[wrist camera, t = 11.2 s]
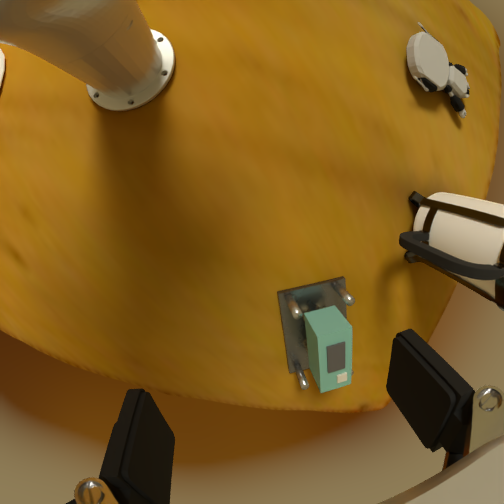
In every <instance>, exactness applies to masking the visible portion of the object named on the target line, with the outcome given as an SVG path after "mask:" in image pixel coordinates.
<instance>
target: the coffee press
mask: <svg viewBox="0 0 504 504" xmlns="http://www.w3.org/2000/svg"><path fill="white" fill-rule="evenodd" d="M409 200H410V201H411V202H412V203H413V204H414V205H416V206H417V207H418V208H419V210H418V212H417V214H416V217H415V221H414V226H413V231H411V232H404V233H401V234H400V238H399V244H400V246H402V247H403V248H405V249H406V250H408V252H406V253H405V255H404V257H405V258H406V260H407V261H408V263H415V262H423V263H425V264H427V265H429V266H430V267H432V268H434V269H436V270H438V271H440V272H441V273H443V274H445V275H447V276H449V277H450V278H452V279H454V280H456V281H457V282H459V283H461V284H463V285H464V286H466V287H468V288H469V289H471V290H473V291H475V292H476V293H478V294H480V295H481V296H483V297H485V298H486V299H488V300H490V301H492V302H493V303H495V304H496V305H497V306H498V307H499V308H500V309H501V310H503V311H504V205H502V204H499V203H494V202H490V201H486V200H481V199H477V198H472V197H467V196H462V195H457V194H451V193H445V192H439V193H435V194H433V195H431V196H430V197H428V198H425V197H423V196H422V195H420V194H419V193H417V192H416V191H413V193H412V194H411V195H410V196H409ZM415 255H418V256H415Z"/></svg>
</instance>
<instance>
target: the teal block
mask: <svg viewBox="0 0 504 504" xmlns="http://www.w3.org/2000/svg"><path fill="white" fill-rule="evenodd" d="M304 319H305V328H306V338H307V347H308V358H309V368H310V370H311V372H312V374H313V377H314V379H315V381H316V383H317V386H318V388H319V390H320V392H321V393H323V392H326V391H330V390H333V389H336V388H339V387H342V386H345V385H348V384H351V370H352V326H351V325H350V324H349V322H348V321H347V320H346V319H345V317H344V316H343V315H342V314H341V312H340V311H339V310H338V309H337V307H336V306H335V305H334V306H330V307H326V308H323V309H319V310H315V311H311V312H307V313H304Z"/></svg>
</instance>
